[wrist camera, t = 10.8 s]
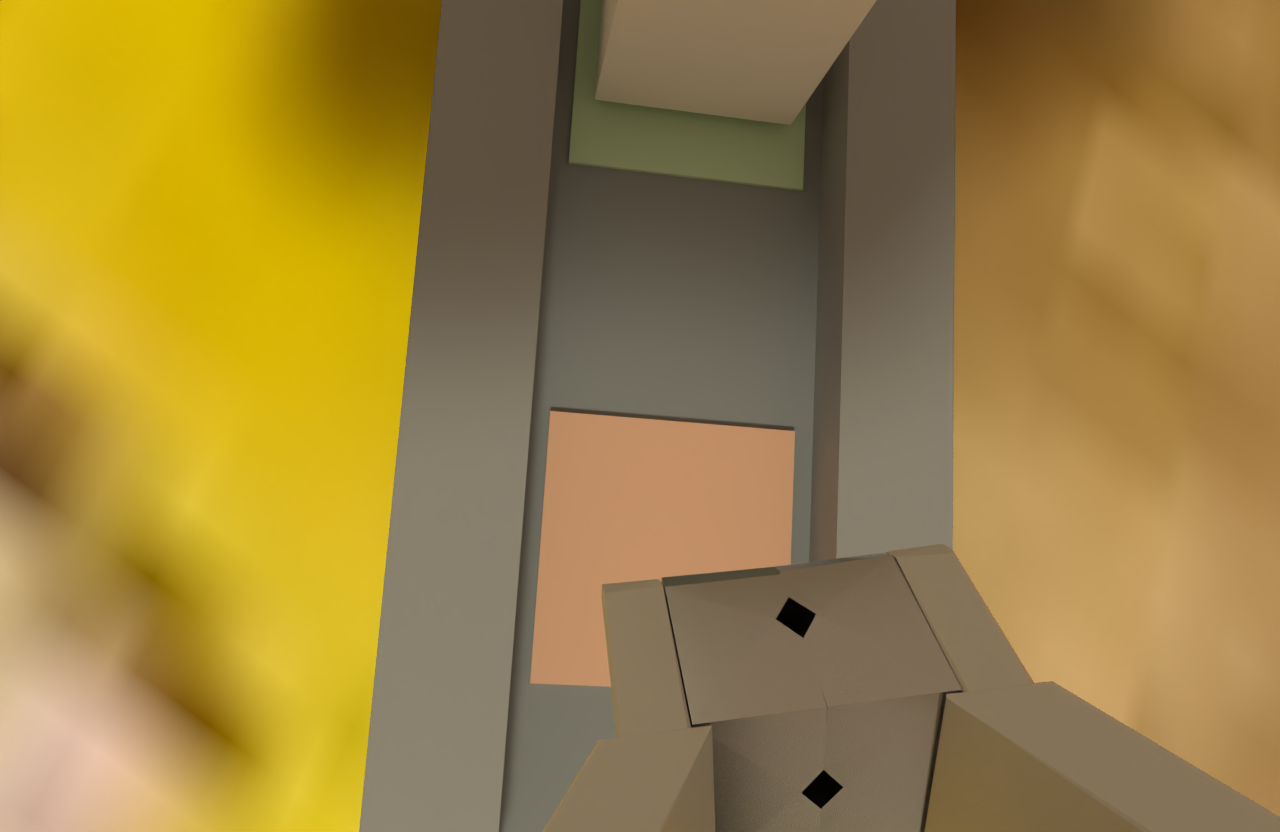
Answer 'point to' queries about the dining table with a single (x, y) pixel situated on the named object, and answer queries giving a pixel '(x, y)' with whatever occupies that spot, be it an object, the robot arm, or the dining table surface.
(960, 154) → the dining table surface
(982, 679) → the robot arm
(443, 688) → the switch panel
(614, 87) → the switch knob
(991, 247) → the dining table surface
